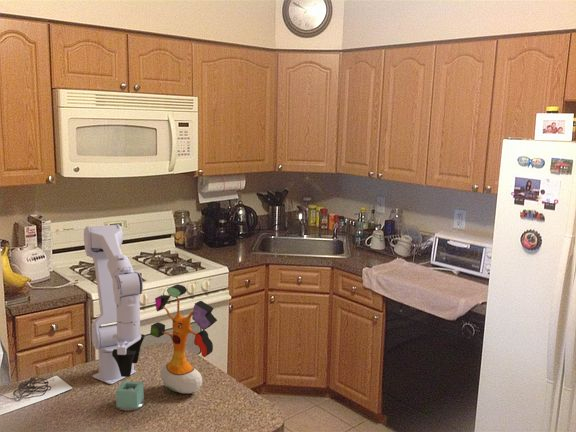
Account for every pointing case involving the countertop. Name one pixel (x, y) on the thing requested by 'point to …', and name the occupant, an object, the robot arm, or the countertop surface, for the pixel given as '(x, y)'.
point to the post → (132, 408)
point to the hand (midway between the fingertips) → (129, 369)
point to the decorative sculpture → (184, 342)
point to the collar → (130, 394)
